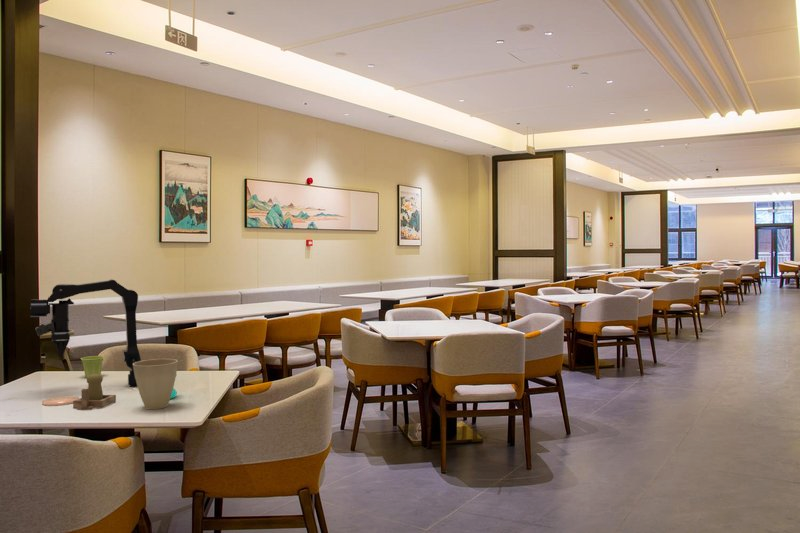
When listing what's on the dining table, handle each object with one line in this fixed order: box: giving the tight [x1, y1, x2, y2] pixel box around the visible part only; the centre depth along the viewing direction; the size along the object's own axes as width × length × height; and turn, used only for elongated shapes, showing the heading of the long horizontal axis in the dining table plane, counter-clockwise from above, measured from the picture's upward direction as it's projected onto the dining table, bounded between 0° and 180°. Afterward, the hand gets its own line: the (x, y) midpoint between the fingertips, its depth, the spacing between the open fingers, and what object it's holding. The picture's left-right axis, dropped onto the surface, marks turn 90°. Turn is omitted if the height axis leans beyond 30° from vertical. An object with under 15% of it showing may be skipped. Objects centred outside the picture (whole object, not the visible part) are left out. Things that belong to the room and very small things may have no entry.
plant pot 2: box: [133, 358, 179, 410], centre depth 222 cm, size 15×15×16 cm
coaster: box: [41, 395, 80, 407], centre depth 230 cm, size 12×12×1 cm
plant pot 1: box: [80, 355, 105, 379], centre depth 279 cm, size 9×9×9 cm
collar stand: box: [72, 388, 117, 411], centre depth 224 cm, size 12×10×7 cm
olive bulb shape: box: [86, 374, 104, 400], centre depth 225 cm, size 6×6×11 cm
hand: (60, 355), depth 246 cm, fingers open, 9 cm apart
